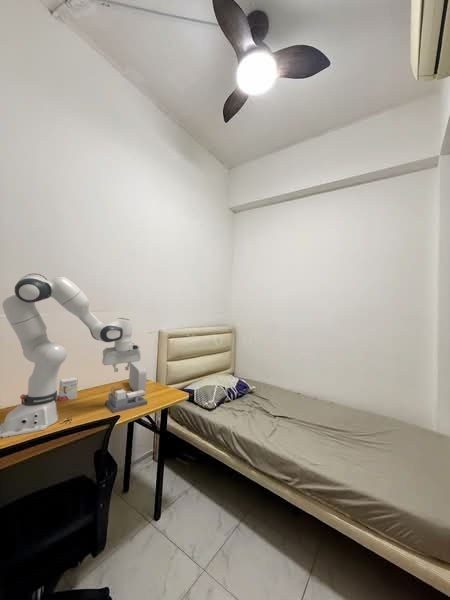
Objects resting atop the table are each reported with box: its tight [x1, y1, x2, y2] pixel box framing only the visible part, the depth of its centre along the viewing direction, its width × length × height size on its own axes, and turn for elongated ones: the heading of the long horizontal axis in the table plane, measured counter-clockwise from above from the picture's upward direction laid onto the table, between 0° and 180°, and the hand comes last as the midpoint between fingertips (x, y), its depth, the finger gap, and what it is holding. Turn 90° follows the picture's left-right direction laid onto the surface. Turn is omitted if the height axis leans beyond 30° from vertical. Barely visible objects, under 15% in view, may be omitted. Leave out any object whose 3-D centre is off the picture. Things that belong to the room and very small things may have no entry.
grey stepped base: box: [104, 392, 148, 414], centre depth 139 cm, size 19×15×6 cm
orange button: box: [110, 385, 122, 396], centre depth 139 cm, size 4×4×5 cm
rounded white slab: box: [128, 361, 148, 393], centre depth 164 cm, size 27×7×17 cm, turn 34°
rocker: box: [126, 390, 146, 398], centre depth 140 cm, size 10×4×2 cm, turn 132°
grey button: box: [115, 389, 127, 400], centre depth 134 cm, size 4×4×5 cm
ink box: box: [57, 377, 78, 402], centre depth 144 cm, size 9×5×12 cm, turn 138°
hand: (121, 370), depth 134 cm, fingers open, 5 cm apart
